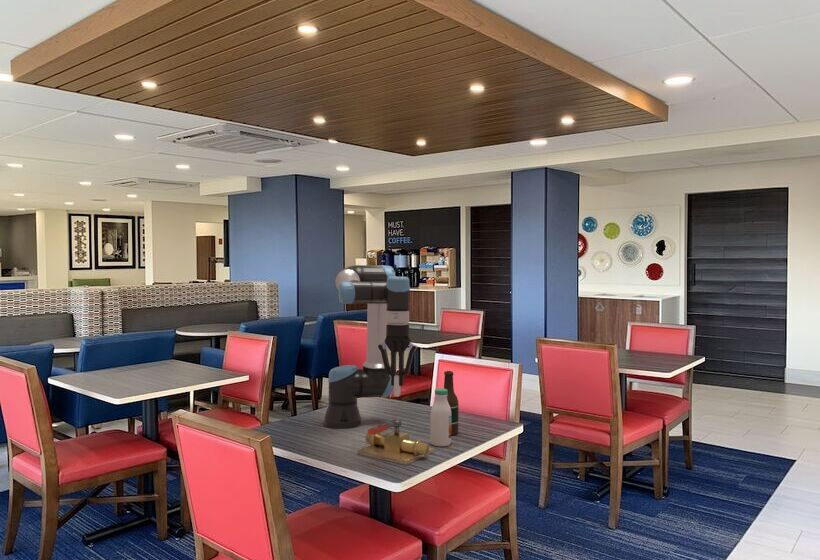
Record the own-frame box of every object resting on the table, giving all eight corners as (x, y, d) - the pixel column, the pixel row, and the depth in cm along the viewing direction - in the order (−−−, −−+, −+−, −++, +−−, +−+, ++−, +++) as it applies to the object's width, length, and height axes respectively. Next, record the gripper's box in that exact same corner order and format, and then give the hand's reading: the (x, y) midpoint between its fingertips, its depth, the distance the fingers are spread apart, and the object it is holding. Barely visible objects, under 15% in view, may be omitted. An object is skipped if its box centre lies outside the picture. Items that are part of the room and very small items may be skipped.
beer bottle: (456, 436, 238) (457, 373, 237) (436, 435, 239) (437, 372, 239) (459, 431, 245) (460, 370, 245) (439, 429, 247) (440, 369, 246)
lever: (395, 423, 219) (395, 418, 219) (403, 424, 217) (403, 420, 217) (366, 433, 205) (366, 429, 205) (374, 435, 203) (374, 430, 203)
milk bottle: (444, 448, 223) (445, 392, 222) (426, 444, 227) (426, 389, 226) (455, 443, 229) (455, 388, 229) (436, 439, 233) (437, 386, 233)
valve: (353, 453, 216) (353, 425, 216) (383, 441, 231) (384, 415, 231) (411, 466, 203) (411, 437, 202) (439, 452, 218) (440, 425, 217)
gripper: (375, 324, 202) (374, 396, 203) (415, 325, 200) (414, 399, 200) (381, 322, 210) (380, 392, 210) (419, 323, 207) (418, 394, 208)
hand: (397, 395), depth 205 cm, fingers closed
